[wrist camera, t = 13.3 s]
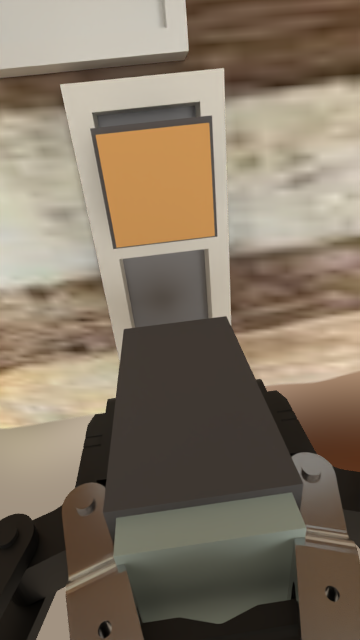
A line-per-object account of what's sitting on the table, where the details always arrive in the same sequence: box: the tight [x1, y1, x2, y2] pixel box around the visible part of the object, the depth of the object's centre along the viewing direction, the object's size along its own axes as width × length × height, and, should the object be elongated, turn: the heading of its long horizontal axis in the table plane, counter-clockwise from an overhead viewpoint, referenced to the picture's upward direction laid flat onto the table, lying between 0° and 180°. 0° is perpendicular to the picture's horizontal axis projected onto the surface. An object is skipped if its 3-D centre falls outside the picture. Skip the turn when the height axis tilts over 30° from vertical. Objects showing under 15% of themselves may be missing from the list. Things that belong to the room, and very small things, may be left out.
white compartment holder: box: [60, 68, 231, 361], centre depth 22 cm, size 17×8×3 cm, turn 6°
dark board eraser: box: [103, 316, 306, 624], centre depth 12 cm, size 4×4×9 cm
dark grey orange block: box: [90, 115, 217, 249], centre depth 17 cm, size 4×4×9 cm
